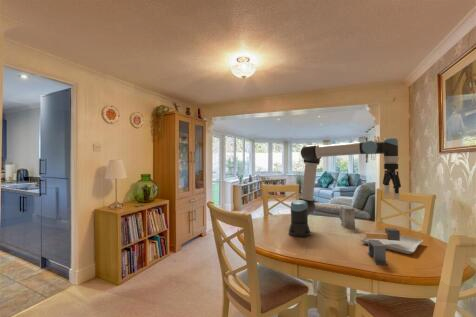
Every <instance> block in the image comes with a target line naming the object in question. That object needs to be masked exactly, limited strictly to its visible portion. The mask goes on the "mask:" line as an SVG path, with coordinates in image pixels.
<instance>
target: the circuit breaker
mask: <svg viewBox="0 0 476 317" xmlns="http://www.w3.org/2000/svg"><path fill="white" fill-rule="evenodd" d="M338 214H339V215H338V217H339V220H340V221H341V226H342V227H344V228H345V229H356V227H355V226H356V221H355V214H356V210H355V208H354V207H353V206H341V207H340V209H339V212H338Z"/></svg>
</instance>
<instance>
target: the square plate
mask: <svg viewBox="0 0 476 317" xmlns="http://www.w3.org/2000/svg"><path fill="white" fill-rule="evenodd" d="M371 233H385V231H381V230H374V231H371ZM369 240H379V241H380V242H381V243H382V244H383V245H385V246H386V250H391V251H394V252H397V253H401V254H406V255H412V254H413V253H415V252H416V250H417V248H418V247H419V246H420V245H421V244H422V243H423V242H424V239H421V238H416V237H413V236H412V237H411V236H407V235H403V234H402V236H400V241H395V240H388V239H370V238H366V236H364V237H362V238H361V239H360V241H361V242H362V243H363V244H366V245H368V246H369Z"/></svg>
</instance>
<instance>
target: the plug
mask: <svg viewBox="0 0 476 317" xmlns="http://www.w3.org/2000/svg"><path fill="white" fill-rule="evenodd" d="M384 232H385V233H372V231H370V232H368V231H365V232H364V233H365V236H366V238H370V239H388V240H395V241H400V236H402V235H403V234H401V233H400V232H401V231H400V230H399V229H397V228H391V227H390V228H388V227H385V229H384ZM365 236H364V237H365Z"/></svg>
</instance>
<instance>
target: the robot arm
mask: <svg viewBox="0 0 476 317" xmlns="http://www.w3.org/2000/svg"><path fill="white" fill-rule="evenodd" d="M380 154H381V155H382V154H383V169H384V171H383V172H384V173H383V174H384V175H383V179H382V185H384V186H383V190H384V191H383V192H384V194H383V196H390V182H392V185H393V187H392V188H393V189H392V191H393V192H392V193H393V195H392V197H393V199H394V200H399V199H400V188H401V187H402V184H401V180H400V176H399V171H397V170H399V159H400V157H399V140H398V138H395V137H391V138H383V141H381V142H379V141H377V142H375V141H373V140H367V141H366V140H365V141H360V142H359V141H357V142H348V143H338V144H326V145H319V144H305V145H304V146H303V147H302V148H301V150H300V156H301V158H302V159H303V163H304V171H303V181H302V189H301V195H299V197H298V199H296V200H292V201H291V203H290V225H289V228H288V234H289V235H290V236H292V237H295V238H308V237H310V236H311V230H310V226H309V219H308V217H309V216H310V215H312V214H314V212H315V210H316V203H315V201H316V199H315V197H314V191H315V184H316V176H317V170H318V169H317V168H318V166H319V165H320V162H321V159H322V158H324V157H325V158H326V157H337V156H352V155H353V156H354V155H380Z"/></svg>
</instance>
